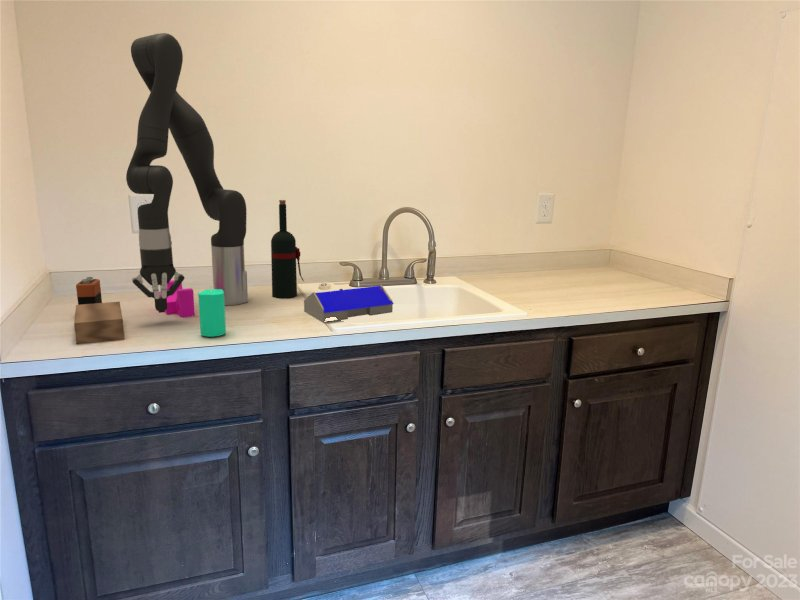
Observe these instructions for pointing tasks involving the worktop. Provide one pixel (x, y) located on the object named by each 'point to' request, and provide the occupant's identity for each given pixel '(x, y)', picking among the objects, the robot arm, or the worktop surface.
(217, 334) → the candle
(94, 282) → the battery
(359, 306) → the roof
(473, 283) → the worktop surface
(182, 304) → the magenta bracket
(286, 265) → the wine bottle
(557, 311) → the worktop surface
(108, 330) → the walnut plinth
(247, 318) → the worktop surface
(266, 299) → the worktop surface
